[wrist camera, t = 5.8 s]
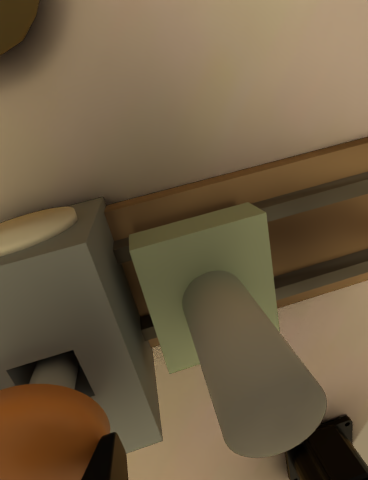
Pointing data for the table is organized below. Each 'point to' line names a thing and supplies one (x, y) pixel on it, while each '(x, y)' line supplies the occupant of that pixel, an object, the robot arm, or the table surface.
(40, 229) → the cabinet
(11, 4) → the squeeze bottle
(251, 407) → the carriage
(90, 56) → the table surface
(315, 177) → the slide rail
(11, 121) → the table surface
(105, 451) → the robot arm
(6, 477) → the brown rounded piece
